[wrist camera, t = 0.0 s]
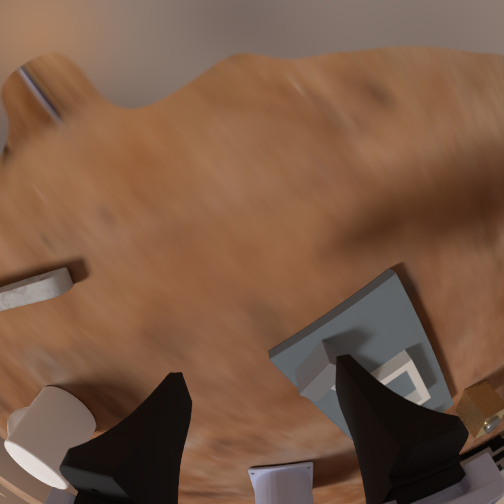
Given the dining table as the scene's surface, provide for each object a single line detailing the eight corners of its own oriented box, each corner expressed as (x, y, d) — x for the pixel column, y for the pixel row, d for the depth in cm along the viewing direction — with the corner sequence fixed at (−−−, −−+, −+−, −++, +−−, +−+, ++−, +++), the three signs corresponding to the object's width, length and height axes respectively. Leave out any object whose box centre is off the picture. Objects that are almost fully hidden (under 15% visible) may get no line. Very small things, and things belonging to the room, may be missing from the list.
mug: (80, 497, 19) (11, 467, 19) (106, 436, 29) (40, 420, 29) (40, 455, 16) (-25, 423, 17) (80, 390, 26) (14, 376, 26)
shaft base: (449, 398, 27) (464, 419, 23) (368, 449, 29) (377, 474, 25) (389, 267, 22) (414, 288, 18) (268, 350, 24) (271, 383, 20)
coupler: (476, 400, 28) (498, 430, 21) (455, 410, 28) (476, 442, 22) (485, 379, 27) (510, 409, 20) (464, 389, 27) (488, 422, 20)
